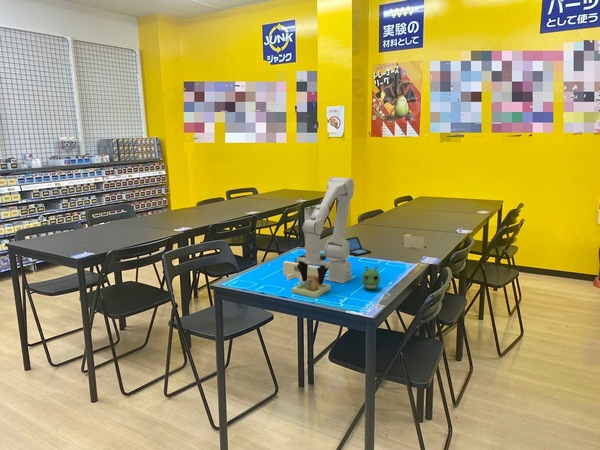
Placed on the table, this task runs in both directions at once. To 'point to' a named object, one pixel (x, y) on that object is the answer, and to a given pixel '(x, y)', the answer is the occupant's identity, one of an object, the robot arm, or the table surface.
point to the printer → (297, 270)
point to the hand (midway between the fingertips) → (312, 282)
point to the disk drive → (322, 257)
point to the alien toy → (371, 278)
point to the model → (413, 241)
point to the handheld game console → (356, 247)
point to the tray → (314, 294)
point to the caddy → (312, 283)
